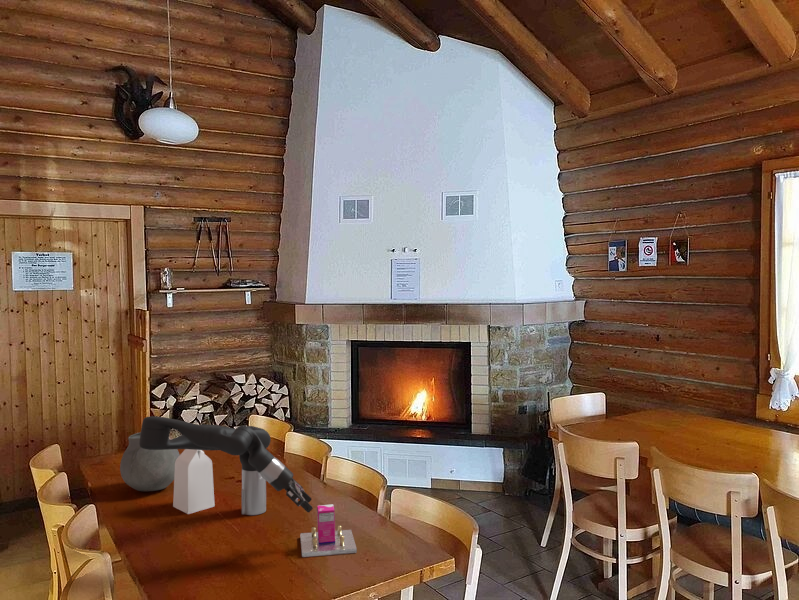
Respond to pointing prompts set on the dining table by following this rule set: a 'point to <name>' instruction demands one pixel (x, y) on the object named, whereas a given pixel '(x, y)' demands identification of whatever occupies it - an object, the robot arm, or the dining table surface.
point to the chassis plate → (341, 545)
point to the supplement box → (326, 523)
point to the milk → (193, 482)
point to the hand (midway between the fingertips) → (310, 505)
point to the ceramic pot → (147, 466)
